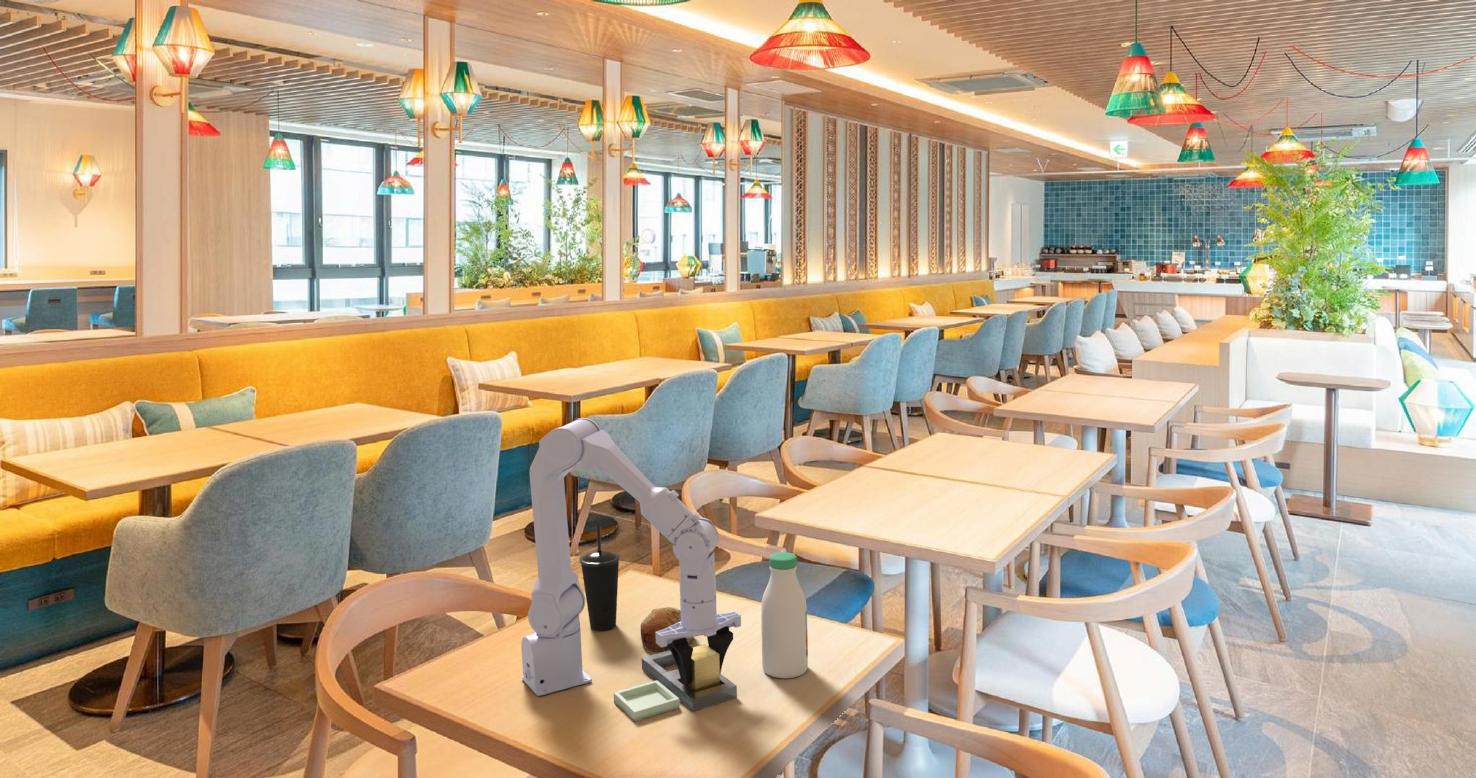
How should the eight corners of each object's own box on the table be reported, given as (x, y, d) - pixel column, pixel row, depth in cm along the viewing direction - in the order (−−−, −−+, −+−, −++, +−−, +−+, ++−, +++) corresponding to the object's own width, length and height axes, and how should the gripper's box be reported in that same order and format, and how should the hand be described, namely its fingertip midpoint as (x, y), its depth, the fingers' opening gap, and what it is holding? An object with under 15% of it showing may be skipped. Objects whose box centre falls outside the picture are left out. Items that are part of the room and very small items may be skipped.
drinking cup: (575, 632, 178) (570, 529, 175) (593, 616, 185) (588, 517, 182) (613, 636, 176) (608, 531, 173) (629, 620, 183) (625, 520, 180)
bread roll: (697, 653, 176) (698, 609, 179) (689, 651, 167) (690, 605, 169) (644, 652, 177) (646, 608, 180) (633, 650, 168) (635, 604, 170)
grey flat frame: (692, 711, 147) (692, 698, 146) (641, 668, 162) (641, 657, 162) (736, 697, 151) (736, 685, 151) (683, 657, 166) (682, 646, 166)
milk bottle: (804, 681, 156) (803, 564, 153) (758, 678, 157) (755, 562, 154) (810, 661, 163) (809, 549, 160) (766, 658, 165) (764, 547, 162)
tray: (635, 721, 144) (634, 711, 144) (614, 701, 150) (613, 692, 150) (679, 707, 148) (679, 698, 148) (657, 688, 154) (657, 680, 154)
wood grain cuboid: (695, 702, 150) (694, 660, 148) (682, 691, 153) (680, 650, 152) (720, 695, 152) (719, 653, 151) (706, 684, 156) (705, 644, 155)
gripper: (669, 614, 143) (672, 699, 145) (750, 594, 151) (752, 675, 153) (648, 600, 149) (651, 682, 151) (727, 581, 156) (729, 659, 158)
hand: (700, 677), depth 152 cm, fingers open, 5 cm apart
